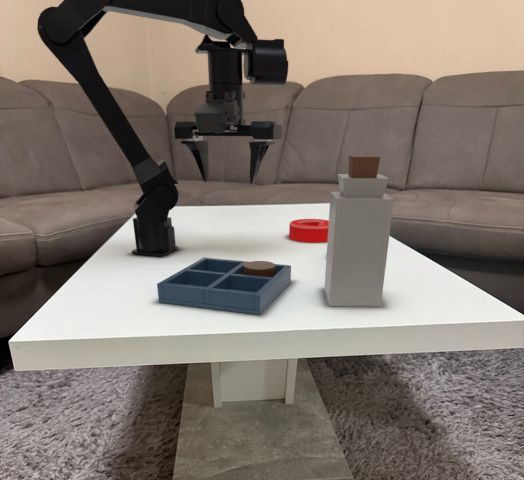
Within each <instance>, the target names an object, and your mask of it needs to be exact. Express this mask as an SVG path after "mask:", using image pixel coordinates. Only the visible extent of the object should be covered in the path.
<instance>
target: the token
mask: <svg viewBox="0 0 524 480" xmlns="http://www.w3.org/2000/svg"><path fill="white" fill-rule="evenodd" d="M275 264H276V263H274V262H271V261H267V260H252V261H247V263H245V264H244V265H243V268H244V275H251V276H261V277H271V278H273V277H274V276H275Z"/></svg>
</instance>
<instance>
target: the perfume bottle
mask: <svg viewBox="0 0 524 480" xmlns="http://www.w3.org/2000/svg"><path fill="white" fill-rule="evenodd" d="M380 161H381V156H378V155H348V173H337V178H338V186H339V187H338V188H339V191H330V195H329V196H330V197H329V211H328V221H329V226H328V241H327V242H326V257H325V260H326V261H325V275H324V293H325V296H326V300H327V303H328V307H365V308H367V307H373V308H374V307H377V308H381V307H382V299H383V291H384V283H385V277H386V276H385V275H386V268H387V267H386V266H387V259H388V250H389V243H390V242H389V241H390V235H391V234H390V233H391V226H392V219H393V218H392V217H393V210H394V209H393V208H394V201H395V199H394V198H392V197H391V196H390V195H388V194H386V193H385V191H386V188H387V187H388V186H387V185H388V183H389V180H390V178H389V177H387V176H385V175H383V174H380V173H378V172H379V166H380Z"/></svg>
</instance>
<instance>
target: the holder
mask: <svg viewBox="0 0 524 480" xmlns="http://www.w3.org/2000/svg"><path fill="white" fill-rule="evenodd" d="M247 262H248V261H246V260H236V259H226V258H225V259H223V258H214V257H213V258H212V257H202V258H200V259H198V260H196V261H195V262H193V263H191V264H189V265H188V266H186V267H184V268H182V269H181V270H179V271H177V272H176V273H173V274H172V275H170V276H169V277H167V278H165V279H163V280H161V281H160V282H157V283H156V289H157V297H158V303H160V304H161V303H162V304H171V305H178V306H187V307H194V308H200V309H201V308H202V309H211V310H217V311H225V312H226V311H227V312H234V313H240V314H241V313H242V314H249V315H259V316H260V315H262V313H264V311H265V310H266V309H268V307H269V306H270V305H271V304H272V303H273V302H274V301H275V299H277V297H278V296H279V295H280V294H281V293H282V292H283V291H284V290H285V289H286V288H287V286H288V285H290V284H291V282H292V265H290V264H280V263H274V264H275V276H274V277H273V278H271V277H261V276H251V275H244V268H243V265H244V264H245V263H247Z"/></svg>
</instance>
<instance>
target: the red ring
mask: <svg viewBox="0 0 524 480" xmlns="http://www.w3.org/2000/svg"><path fill="white" fill-rule="evenodd" d="M328 226H329V219H322V218H301V219H294V220H292V221H290V222H289V229H288V238H289V239H290V240H292V241H295V242H302V243H327V242H328Z"/></svg>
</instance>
